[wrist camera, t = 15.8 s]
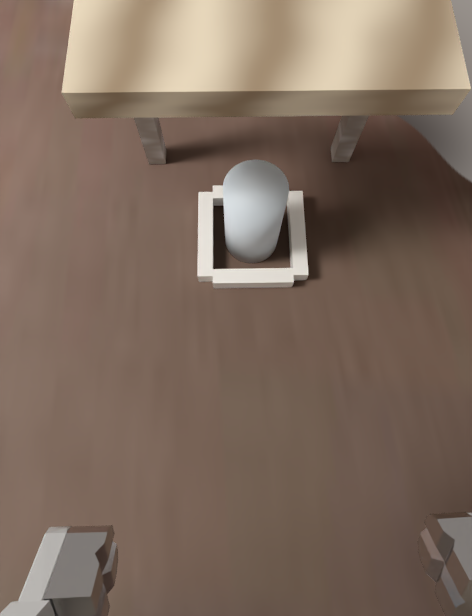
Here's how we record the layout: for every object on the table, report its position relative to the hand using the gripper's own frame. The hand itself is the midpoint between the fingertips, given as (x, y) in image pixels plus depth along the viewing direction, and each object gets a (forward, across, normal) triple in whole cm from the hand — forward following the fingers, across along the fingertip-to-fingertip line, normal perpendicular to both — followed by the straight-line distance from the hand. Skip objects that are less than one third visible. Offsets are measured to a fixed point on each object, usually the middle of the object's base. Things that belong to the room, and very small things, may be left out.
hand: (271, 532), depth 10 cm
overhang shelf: (+29, -2, -3) cm, 29 cm away
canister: (+26, -2, 0) cm, 26 cm away
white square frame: (+26, -2, 0) cm, 26 cm away
